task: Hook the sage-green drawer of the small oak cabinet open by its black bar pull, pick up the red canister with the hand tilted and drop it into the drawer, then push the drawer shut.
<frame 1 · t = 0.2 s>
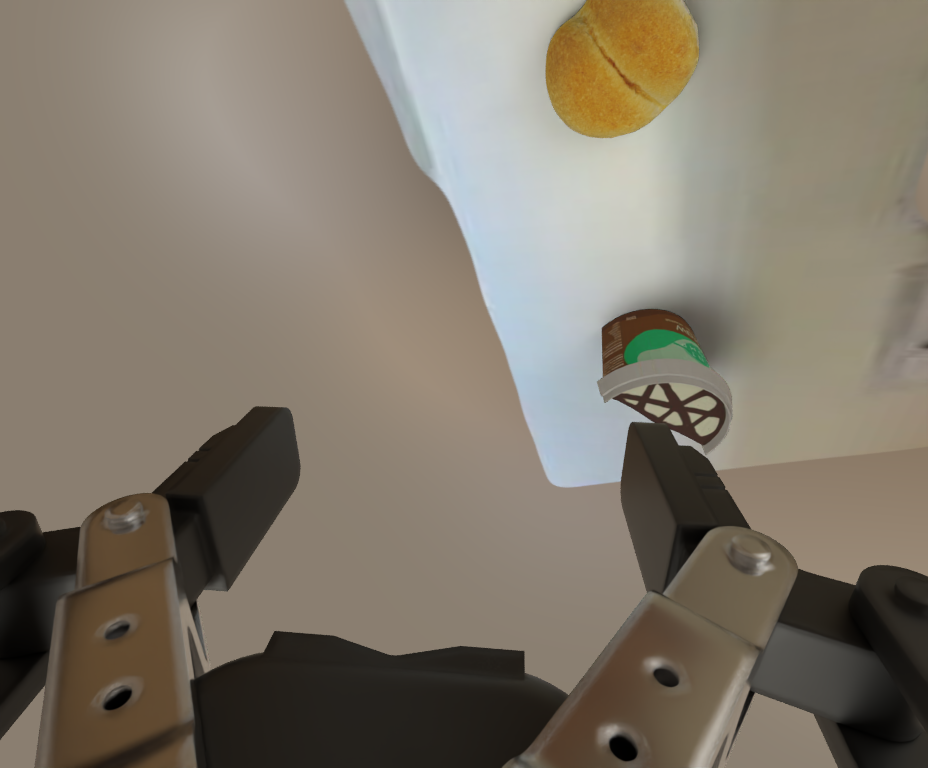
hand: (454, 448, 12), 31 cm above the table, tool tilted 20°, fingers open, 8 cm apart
bread roll: (618, 53, 33), on the table
food container: (663, 328, 48), on the table
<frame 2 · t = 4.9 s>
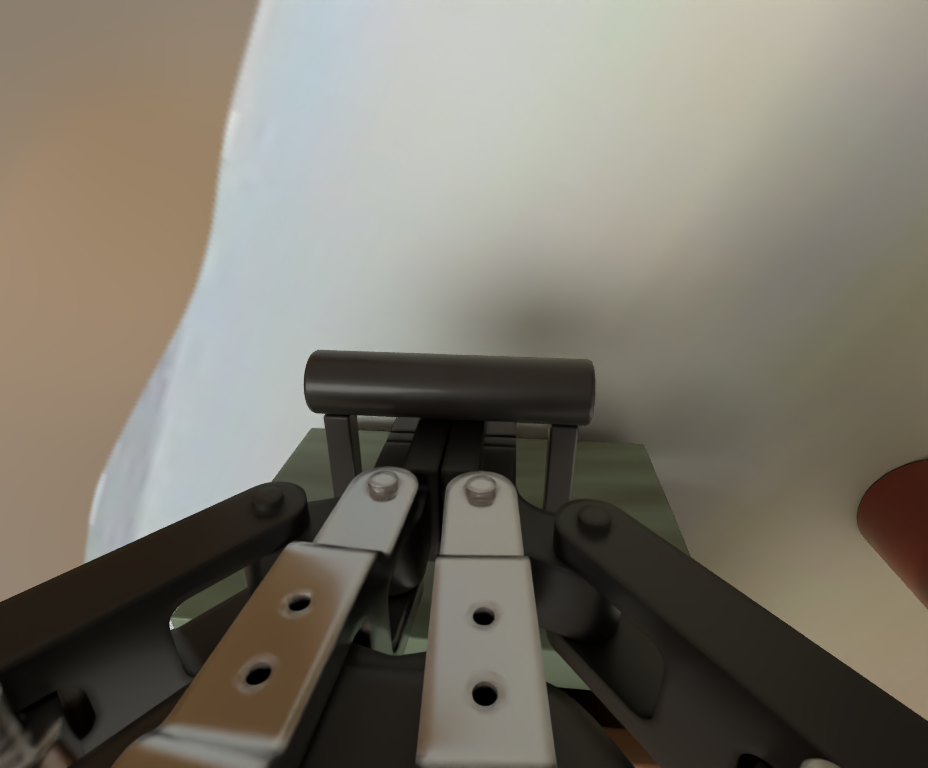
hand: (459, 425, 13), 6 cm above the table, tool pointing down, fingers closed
red canister: (920, 507, 20), on the table
drawer: (461, 618, 17), point 5 cm above the table, slide at 1.0 cm, touching gripper
cabinet: (473, 609, 24), on the table
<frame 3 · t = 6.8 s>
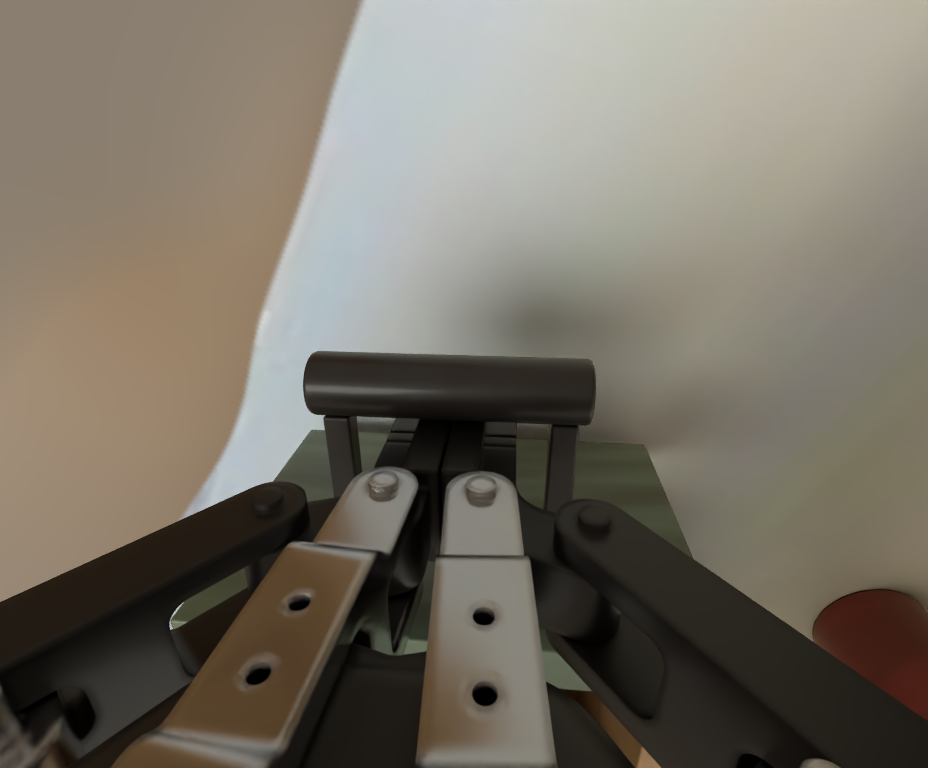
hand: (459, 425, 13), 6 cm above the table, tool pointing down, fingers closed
red canister: (867, 627, 22), on the table
drawer: (462, 620, 17), point 5 cm above the table, slide at 7.4 cm, touching gripper
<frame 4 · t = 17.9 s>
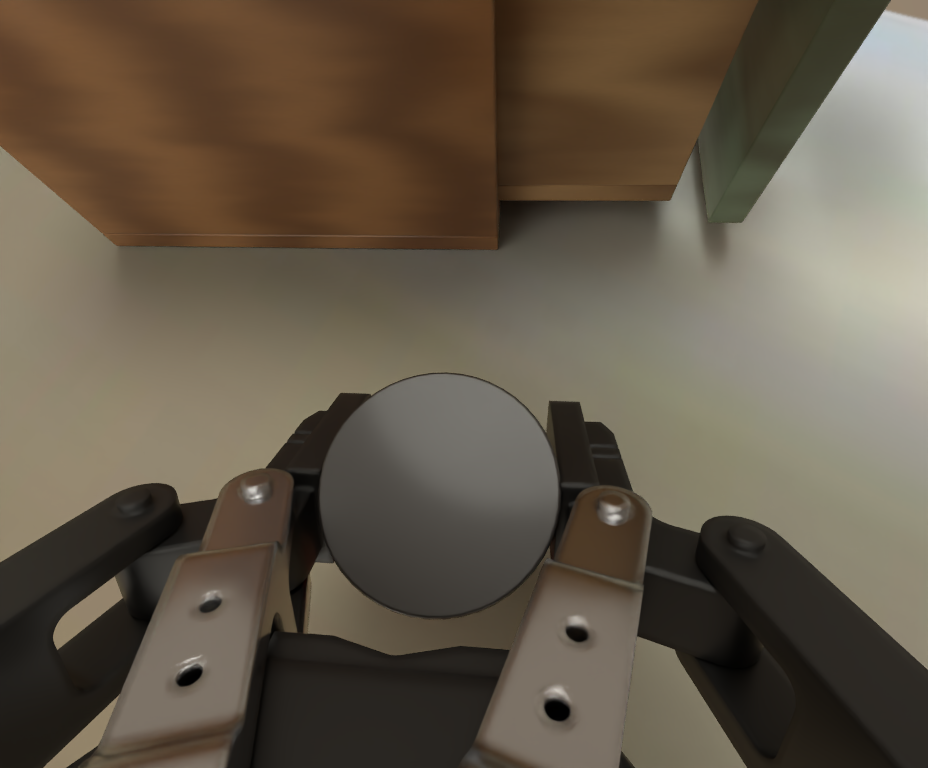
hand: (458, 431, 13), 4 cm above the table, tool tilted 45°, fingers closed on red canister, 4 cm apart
red canister: (465, 524, 16), on the table, touching gripper
cabinet: (327, 118, 23), on the table
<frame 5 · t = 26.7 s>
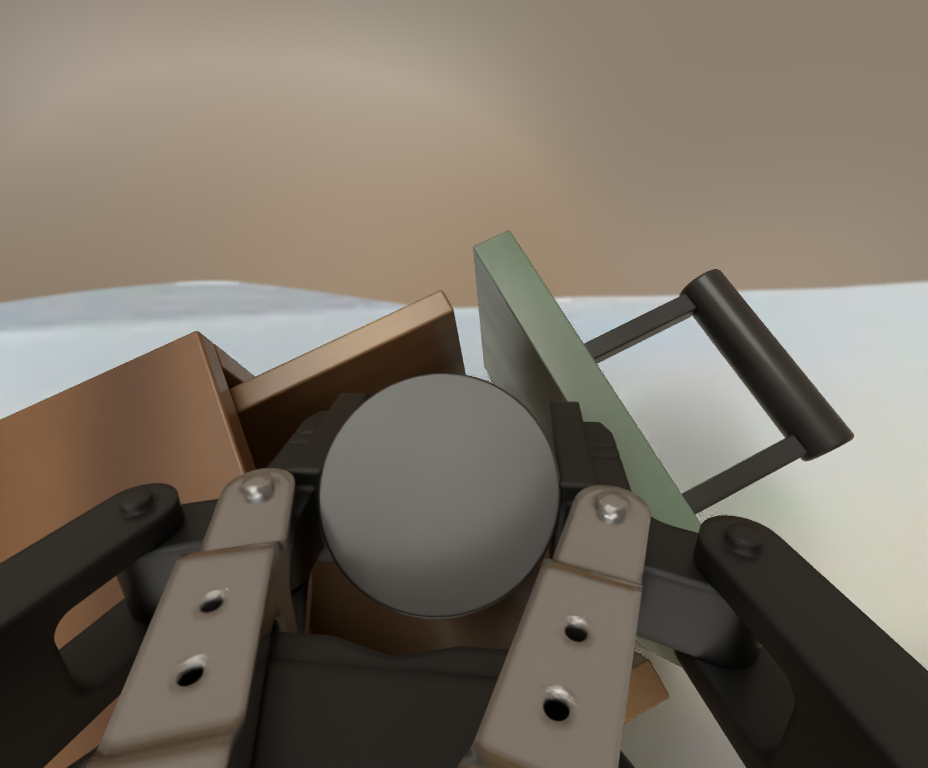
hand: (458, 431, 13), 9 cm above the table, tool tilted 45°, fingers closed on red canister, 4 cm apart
red canister: (465, 524, 16), point 5 cm above the table, touching gripper
drawer: (477, 516, 16), point 5 cm above the table, slide at 7.5 cm
cabinet: (206, 675, 20), on the table
when the fingers open (10 cm above the table, at t = 29.7 s): red canister drops 3 cm, resting on drawer.
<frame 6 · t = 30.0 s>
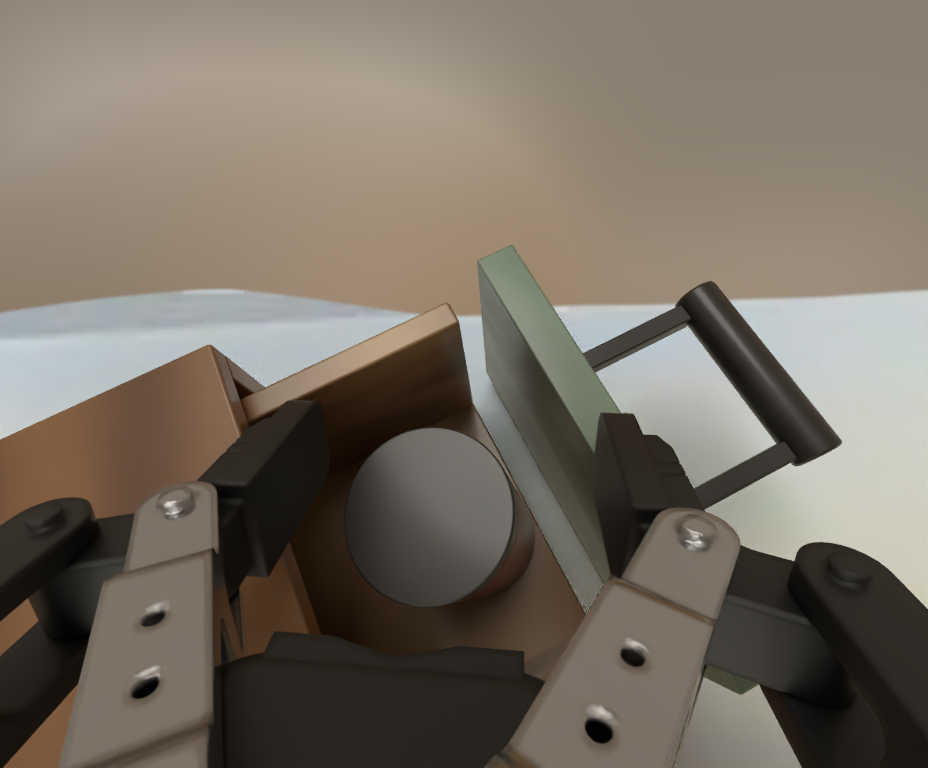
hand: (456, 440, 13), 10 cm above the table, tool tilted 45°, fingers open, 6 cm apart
red canister: (476, 535, 20), point 2 cm above the table, tilted 7°, touching drawer
drawer: (481, 519, 17), point 5 cm above the table, slide at 7.7 cm, touching red canister
cabinet: (213, 675, 21), on the table
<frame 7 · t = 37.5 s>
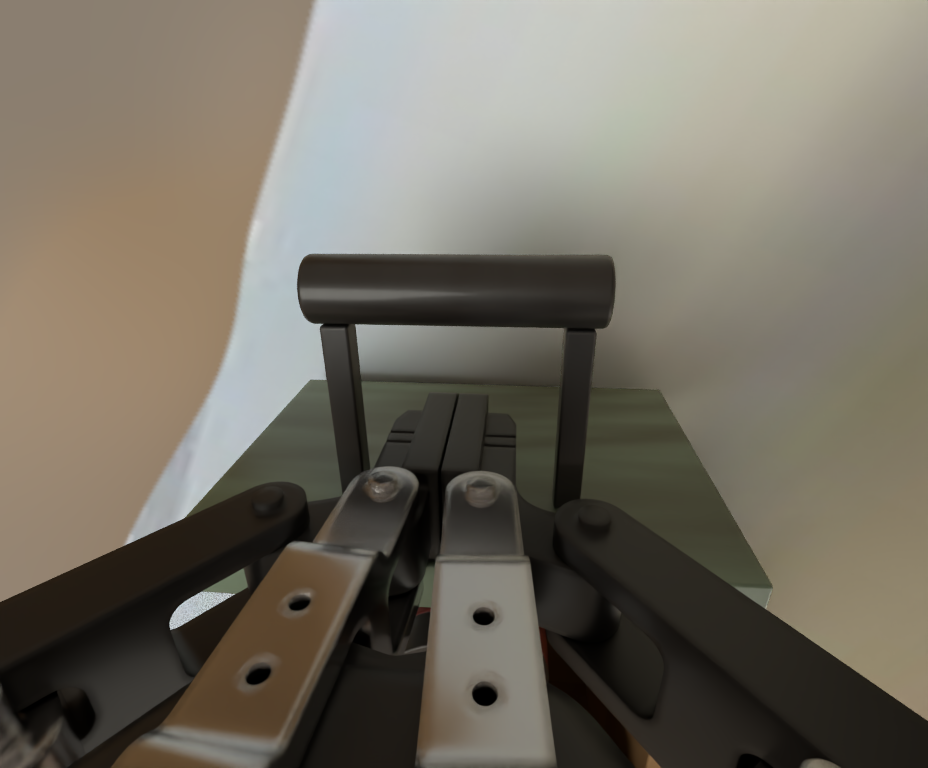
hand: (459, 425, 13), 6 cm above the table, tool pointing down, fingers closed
red canister: (480, 512, 19), point 2 cm above the table, touching drawer
drawer: (469, 570, 16), point 5 cm above the table, slide at 6.2 cm, touching red canister, gripper
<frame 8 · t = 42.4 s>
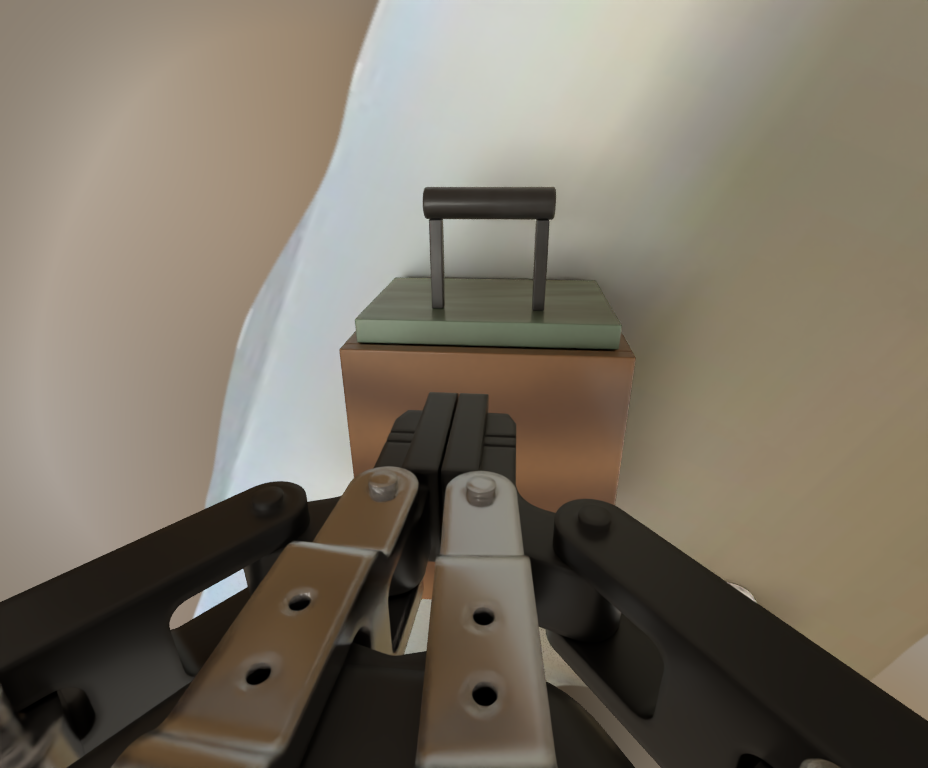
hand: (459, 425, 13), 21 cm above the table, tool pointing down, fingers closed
drawer: (488, 372, 30), point 5 cm above the table, slide at 0.0 cm, touching red canister
cabinet: (491, 402, 36), on the table
mug: (695, 602, 42), on the table
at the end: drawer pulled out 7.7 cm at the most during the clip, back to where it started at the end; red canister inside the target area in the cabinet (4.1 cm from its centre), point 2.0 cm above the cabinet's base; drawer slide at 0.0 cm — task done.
